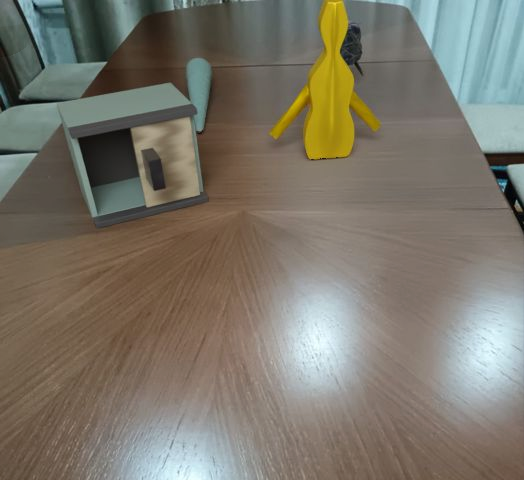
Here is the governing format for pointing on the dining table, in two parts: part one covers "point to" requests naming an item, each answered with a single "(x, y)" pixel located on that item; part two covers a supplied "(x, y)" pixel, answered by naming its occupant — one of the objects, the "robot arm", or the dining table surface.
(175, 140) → the closet door
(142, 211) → the closet
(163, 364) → the dining table surface
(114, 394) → the dining table surface
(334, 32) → the figure statuette
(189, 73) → the mint green cone
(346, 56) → the dark grey lumpy shape
